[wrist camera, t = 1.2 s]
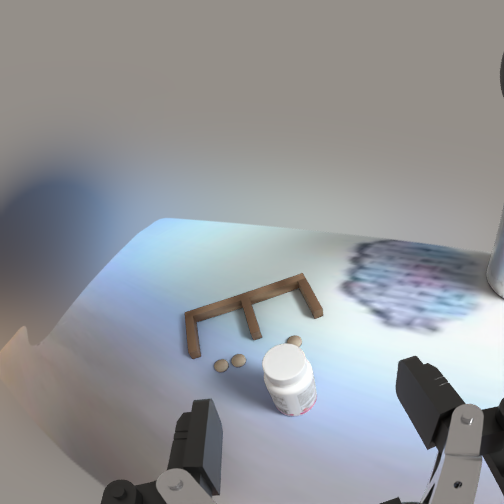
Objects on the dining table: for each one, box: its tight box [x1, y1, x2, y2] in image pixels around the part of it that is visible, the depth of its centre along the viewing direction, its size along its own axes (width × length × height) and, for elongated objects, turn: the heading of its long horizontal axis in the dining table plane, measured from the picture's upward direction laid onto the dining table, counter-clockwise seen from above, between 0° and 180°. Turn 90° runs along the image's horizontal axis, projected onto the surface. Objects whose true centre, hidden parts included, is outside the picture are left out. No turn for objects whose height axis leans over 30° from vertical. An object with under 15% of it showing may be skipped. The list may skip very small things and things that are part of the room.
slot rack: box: [185, 273, 323, 372], centre depth 41 cm, size 18×11×2 cm, turn 103°
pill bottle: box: [262, 344, 317, 416], centre depth 29 cm, size 5×5×8 cm
